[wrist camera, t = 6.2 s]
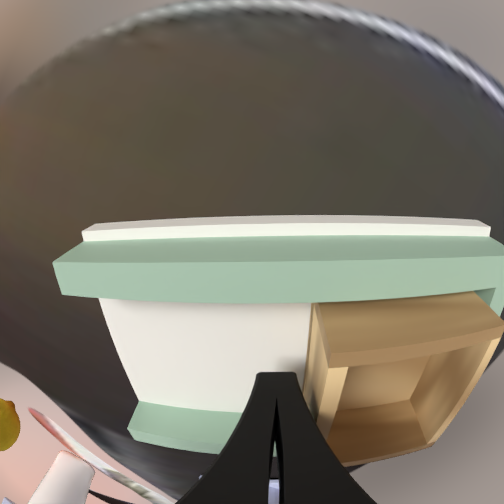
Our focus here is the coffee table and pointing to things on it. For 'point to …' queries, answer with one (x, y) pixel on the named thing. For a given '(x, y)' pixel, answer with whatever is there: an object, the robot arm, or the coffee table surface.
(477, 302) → the crate
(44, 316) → the coffee table surface
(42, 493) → the drinking glass
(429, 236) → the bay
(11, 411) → the lemon
